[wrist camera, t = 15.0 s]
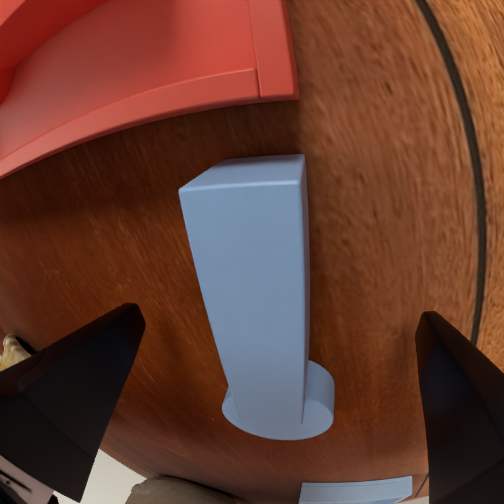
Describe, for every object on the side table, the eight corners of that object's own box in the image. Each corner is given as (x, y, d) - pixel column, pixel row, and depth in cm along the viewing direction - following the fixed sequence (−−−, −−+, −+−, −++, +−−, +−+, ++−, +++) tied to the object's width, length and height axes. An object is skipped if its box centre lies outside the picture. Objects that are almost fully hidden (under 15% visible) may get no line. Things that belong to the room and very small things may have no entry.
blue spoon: (181, 164, 8) (124, 195, 5) (352, 152, 6) (374, 180, 4) (240, 405, 13) (226, 451, 11) (329, 411, 12) (325, 460, 10)
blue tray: (302, 482, 20) (299, 501, 18) (412, 475, 17) (412, 494, 15) (298, 504, 27) (296, 517, 25) (373, 502, 25) (372, 515, 23)
